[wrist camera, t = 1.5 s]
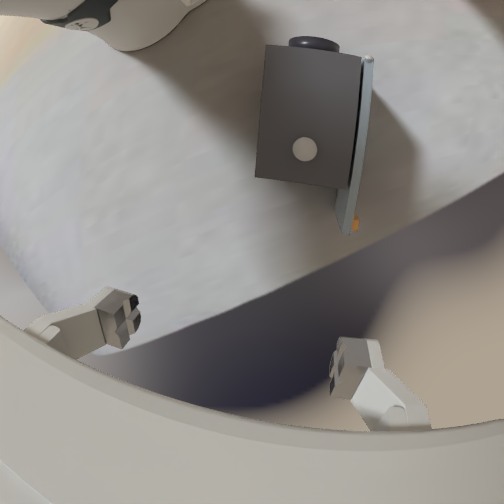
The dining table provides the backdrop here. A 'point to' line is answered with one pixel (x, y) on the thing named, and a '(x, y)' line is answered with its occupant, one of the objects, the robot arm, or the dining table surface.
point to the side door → (356, 152)
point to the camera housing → (308, 113)
